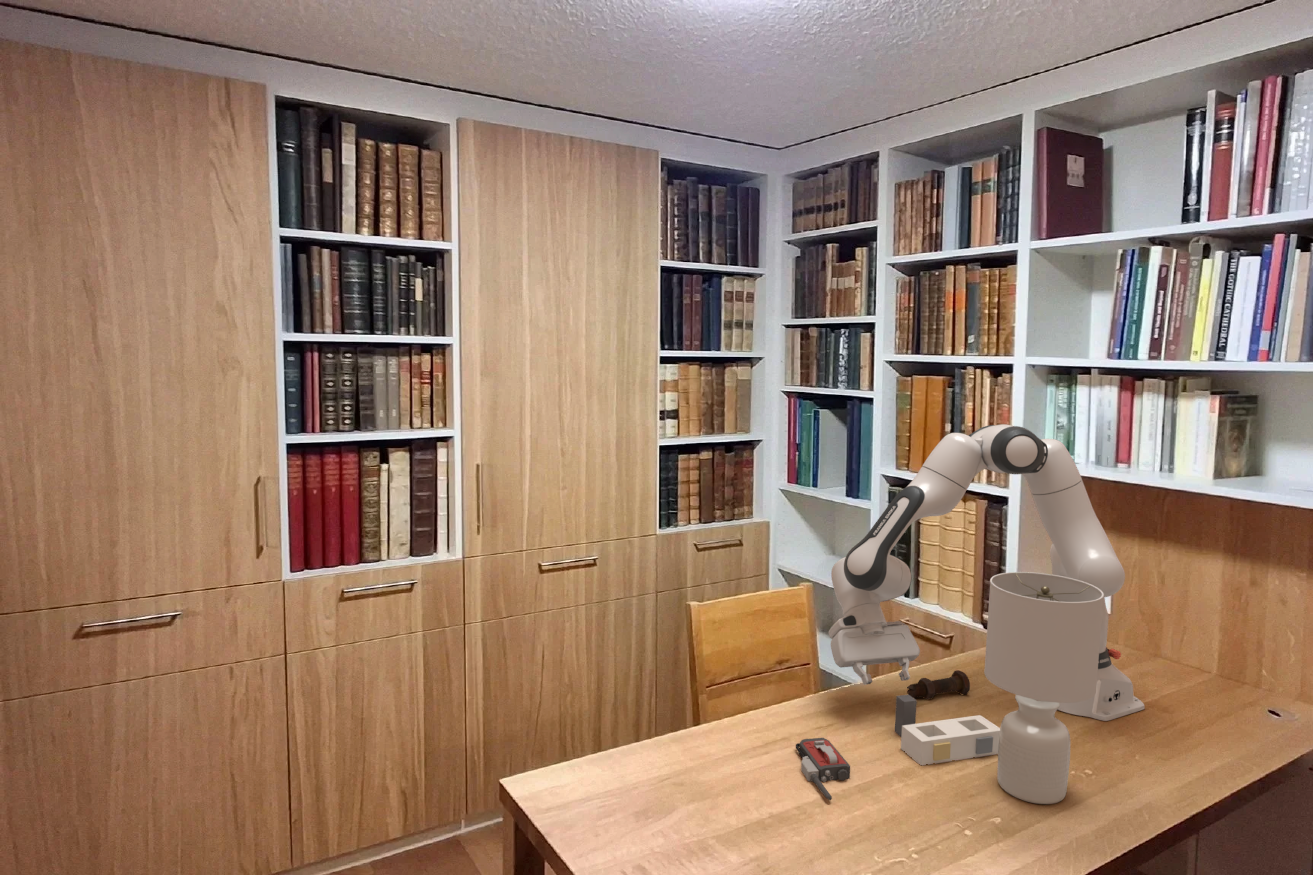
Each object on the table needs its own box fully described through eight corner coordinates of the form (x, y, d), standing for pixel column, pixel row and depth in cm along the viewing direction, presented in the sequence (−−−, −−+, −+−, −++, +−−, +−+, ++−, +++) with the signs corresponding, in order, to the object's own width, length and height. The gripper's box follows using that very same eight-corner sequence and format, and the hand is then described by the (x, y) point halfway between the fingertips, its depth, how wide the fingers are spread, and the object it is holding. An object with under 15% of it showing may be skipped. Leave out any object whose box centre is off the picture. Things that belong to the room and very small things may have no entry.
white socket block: (978, 737, 173) (980, 714, 172) (1003, 754, 165) (1004, 731, 165) (900, 748, 167) (901, 725, 167) (922, 766, 160) (923, 742, 159)
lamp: (1085, 828, 140) (1103, 609, 136) (970, 798, 149) (983, 591, 145) (1088, 779, 156) (1104, 581, 152) (984, 753, 165) (996, 566, 161)
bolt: (907, 705, 192) (960, 695, 197) (919, 703, 188) (973, 693, 192) (900, 680, 194) (953, 671, 199) (912, 677, 190) (965, 668, 194)
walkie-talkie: (785, 752, 166) (824, 806, 146) (786, 731, 165) (824, 783, 146) (826, 748, 168) (869, 801, 148) (826, 728, 167) (870, 778, 148)
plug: (906, 729, 176) (908, 694, 175) (914, 736, 173) (916, 700, 172) (894, 731, 175) (896, 695, 174) (902, 737, 172) (904, 701, 171)
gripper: (899, 626, 192) (921, 682, 183) (821, 632, 186) (840, 691, 178) (911, 614, 187) (934, 671, 179) (832, 620, 181) (852, 679, 173)
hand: (887, 681), depth 178 cm, fingers open, 8 cm apart
